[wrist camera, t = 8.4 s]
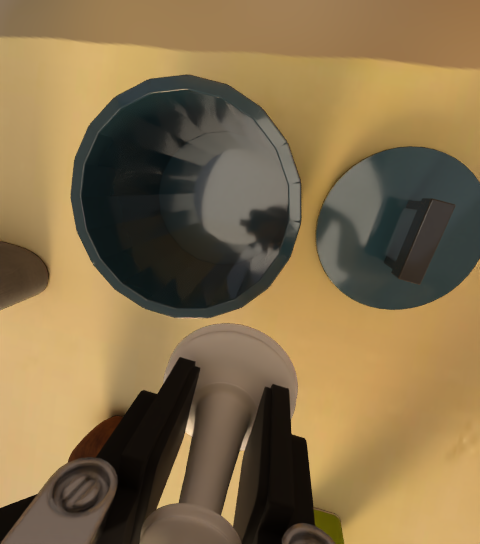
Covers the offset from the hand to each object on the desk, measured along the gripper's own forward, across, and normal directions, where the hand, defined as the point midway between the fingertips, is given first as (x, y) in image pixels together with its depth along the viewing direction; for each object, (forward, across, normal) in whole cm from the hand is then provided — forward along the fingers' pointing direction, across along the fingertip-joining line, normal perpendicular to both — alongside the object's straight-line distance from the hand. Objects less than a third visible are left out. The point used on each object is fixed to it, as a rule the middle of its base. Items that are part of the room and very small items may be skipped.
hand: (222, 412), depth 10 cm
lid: (+21, -11, -6) cm, 24 cm away
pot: (+22, +5, -5) cm, 23 cm away
